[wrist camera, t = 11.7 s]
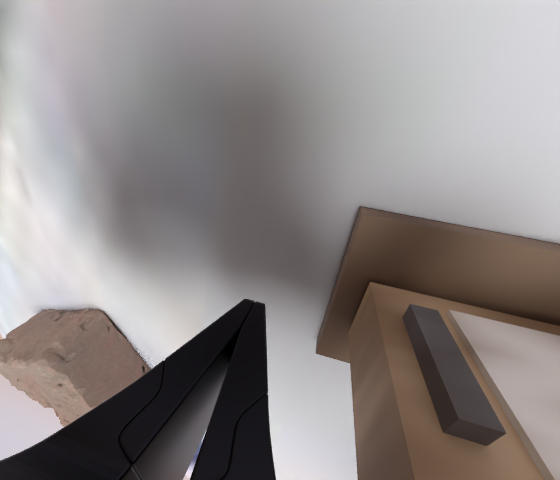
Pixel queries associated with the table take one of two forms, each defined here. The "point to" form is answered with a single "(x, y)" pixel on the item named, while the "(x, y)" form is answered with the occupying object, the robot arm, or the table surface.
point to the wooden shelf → (440, 271)
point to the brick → (69, 361)
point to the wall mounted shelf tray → (452, 390)
